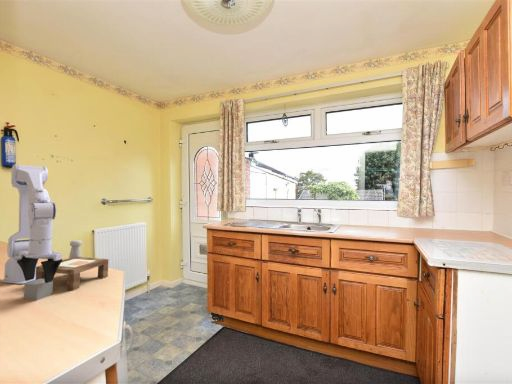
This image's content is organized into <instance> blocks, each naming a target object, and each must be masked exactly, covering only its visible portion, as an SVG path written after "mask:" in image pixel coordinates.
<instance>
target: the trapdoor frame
mask: <svg viewBox="0 0 512 384" xmlns="http://www.w3.org/2000/svg"><path fill="white" fill-rule="evenodd" d="M72 259H84V260H96V261H95V262H91V263H88V264H85V265H82V266H79V267H75V268H71V267H60V266H59V267H58V269H57V271H56V273H55V274H64V275H67V286H66V287H67V289H66V290H68V291H76V290H78V289H80V285H81V281H80V280H81V273H83V272H85V271H89V270H92V269H94V268H97V278H98V279H105V278H107V277H108V276H109V258H99V257H98V258H97V257H85V256H84V257H83V256H82V257H72V258H69V257H68V258H65V259H62V262H65V261H69V260H72ZM40 278H41V279H44V270H43V267H42V264H40V265H37V267H36V280H37V279H40Z"/></svg>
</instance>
